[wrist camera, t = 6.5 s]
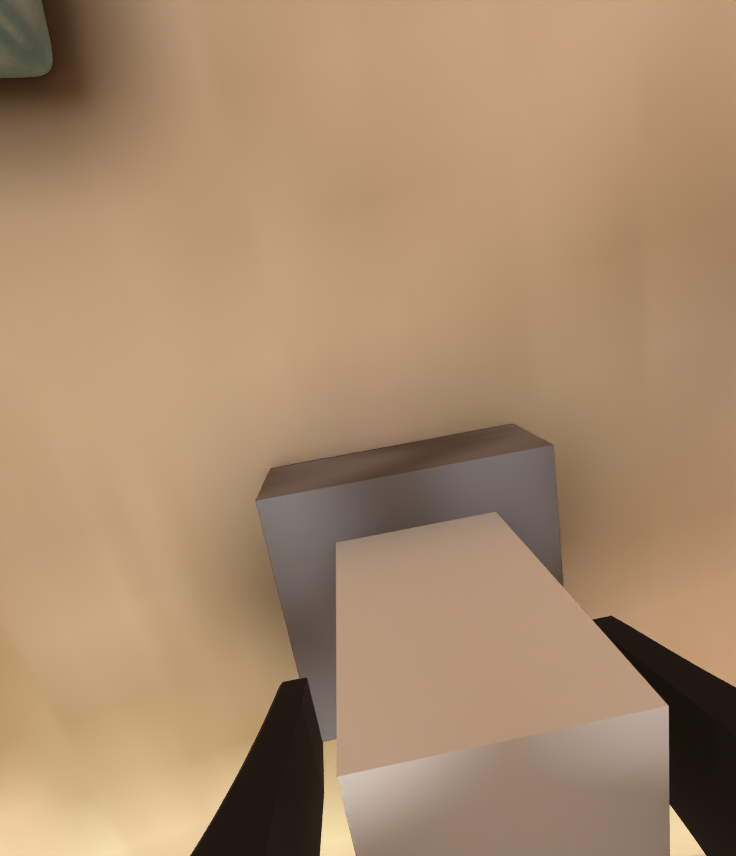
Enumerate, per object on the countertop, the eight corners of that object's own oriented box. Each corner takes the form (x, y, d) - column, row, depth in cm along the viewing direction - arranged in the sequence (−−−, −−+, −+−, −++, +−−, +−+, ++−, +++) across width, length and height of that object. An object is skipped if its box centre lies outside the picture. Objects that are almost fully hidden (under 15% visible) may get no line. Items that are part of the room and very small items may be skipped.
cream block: (495, 511, 13) (668, 705, 6) (510, 647, 14) (670, 935, 8) (335, 542, 13) (336, 776, 6) (363, 678, 14) (390, 1001, 7)
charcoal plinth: (512, 423, 16) (553, 445, 13) (532, 631, 18) (570, 690, 15) (270, 468, 15) (255, 500, 12) (318, 674, 17) (315, 743, 15)
